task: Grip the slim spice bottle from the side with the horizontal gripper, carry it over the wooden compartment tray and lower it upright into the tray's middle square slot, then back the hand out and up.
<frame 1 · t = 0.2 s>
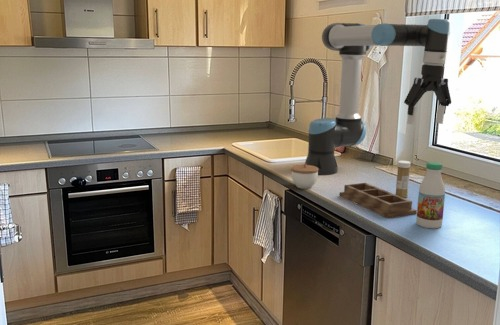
hand: (425, 123, 181), 28 cm above the worktop, tool pointing down, fingers open, 13 cm apart
wooden compartment tray: (375, 204, 177), on the worktop
spice bottle: (401, 196, 187), on the worktop
milk bottle: (428, 225, 157), on the worktop
lidded jar: (304, 187, 199), on the worktop
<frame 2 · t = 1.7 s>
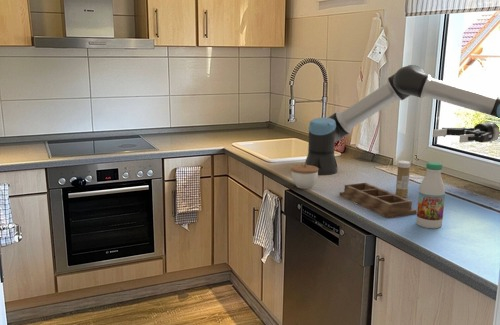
hand: (446, 136, 189), 22 cm above the worktop, tool horizontal, fingers open, 13 cm apart
nothing on the worktop moved.
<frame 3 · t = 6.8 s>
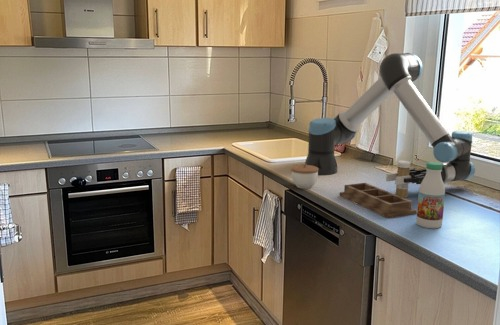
hand: (391, 179, 183), 7 cm above the worktop, tool horizontal, fingers closed on spice bottle, 4 cm apart
spice bottle: (401, 196, 187), on the worktop, touching gripper
everything else where it was.
when the fingers open (10 cm above the worktop, at t = 11.6 s): spice bottle drops 2 cm, resting on wooden compartment tray.
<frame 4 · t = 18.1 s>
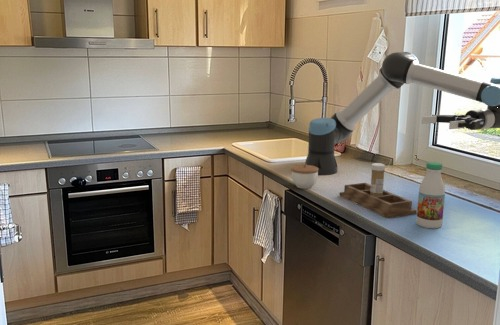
hand: (435, 122, 181), 28 cm above the worktop, tool horizontal, fingers open, 13 cm apart
spice bottle: (375, 201, 177), point 1 cm above the worktop, touching wooden compartment tray
everything else where it was.
at the end: spice bottle 0.0 cm off-centre on the wooden compartment tray, point 1.0 cm above the wooden compartment tray's base; spice bottle tilted 0°; the gripper is holding nothing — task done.
